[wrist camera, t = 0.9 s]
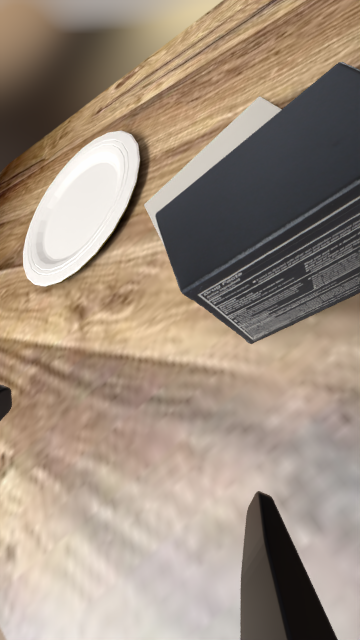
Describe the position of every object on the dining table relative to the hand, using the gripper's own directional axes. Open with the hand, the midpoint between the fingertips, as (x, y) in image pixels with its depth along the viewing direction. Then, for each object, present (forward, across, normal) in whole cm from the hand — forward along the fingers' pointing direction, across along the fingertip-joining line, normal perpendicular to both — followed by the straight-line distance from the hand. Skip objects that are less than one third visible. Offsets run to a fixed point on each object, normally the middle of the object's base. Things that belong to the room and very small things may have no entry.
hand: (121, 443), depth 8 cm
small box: (+15, -6, -5) cm, 17 cm away
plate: (+34, +26, -4) cm, 44 cm away
